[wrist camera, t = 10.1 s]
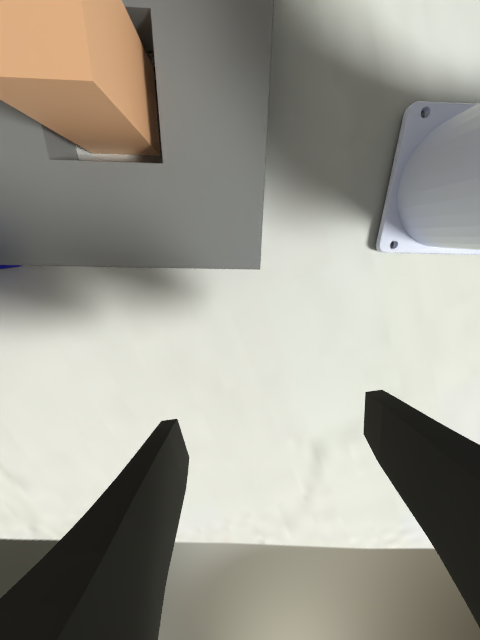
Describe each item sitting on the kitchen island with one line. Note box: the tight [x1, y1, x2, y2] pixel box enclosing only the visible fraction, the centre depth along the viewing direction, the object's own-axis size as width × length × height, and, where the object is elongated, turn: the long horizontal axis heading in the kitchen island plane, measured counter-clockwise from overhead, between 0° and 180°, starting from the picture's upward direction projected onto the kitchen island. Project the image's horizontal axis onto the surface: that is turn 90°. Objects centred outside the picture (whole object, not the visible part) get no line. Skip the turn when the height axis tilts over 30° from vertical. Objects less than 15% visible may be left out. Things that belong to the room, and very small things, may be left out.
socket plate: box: [0, 0, 274, 269], centre depth 12 cm, size 16×16×2 cm
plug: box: [0, 0, 160, 156], centre depth 10 cm, size 4×4×7 cm
